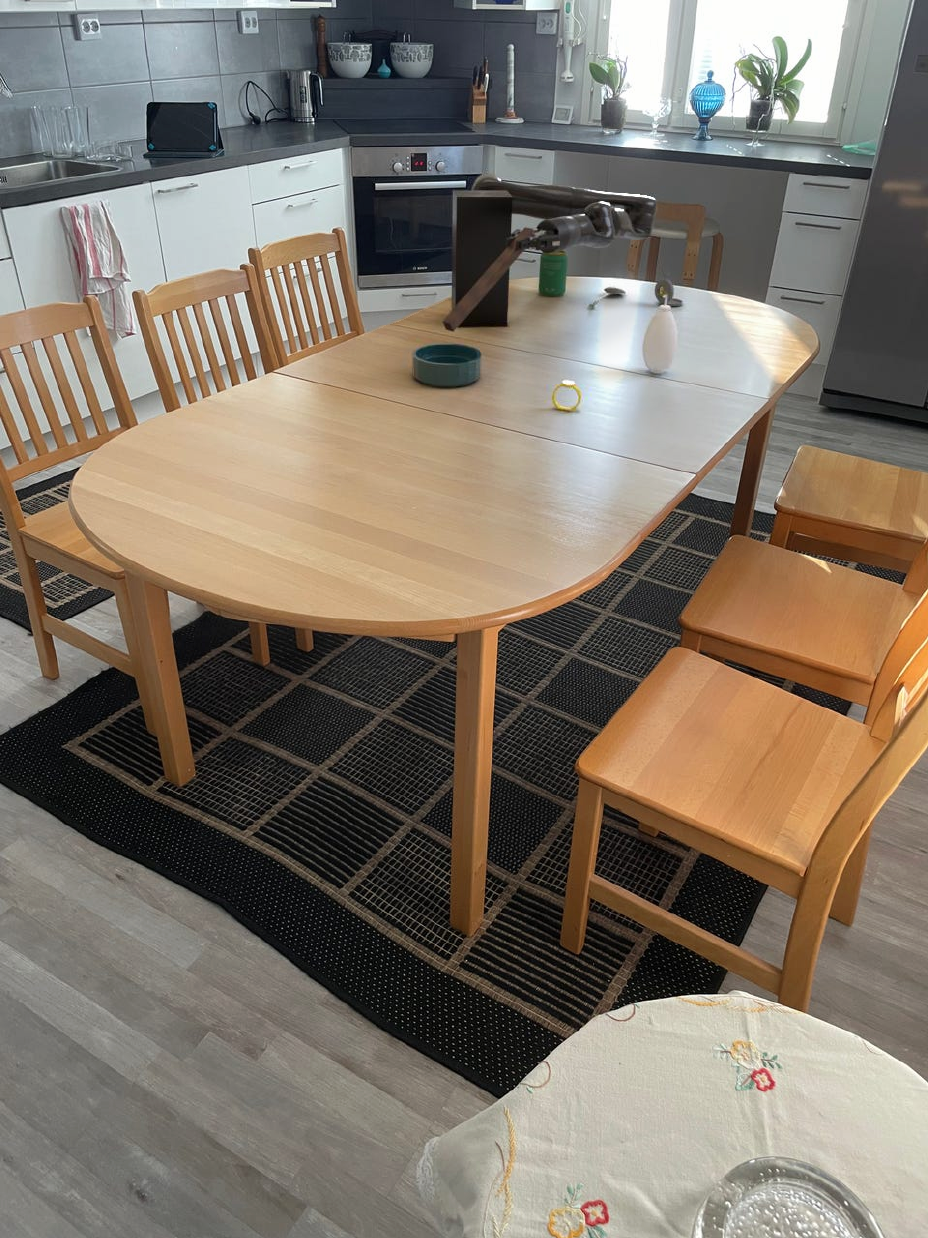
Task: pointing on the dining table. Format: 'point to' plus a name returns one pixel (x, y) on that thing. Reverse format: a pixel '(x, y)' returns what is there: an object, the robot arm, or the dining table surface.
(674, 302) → the pocket watch
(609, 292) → the soupspoon
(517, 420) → the dining table surface
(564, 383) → the gold diamond ring
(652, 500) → the dining table surface
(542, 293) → the beverage can
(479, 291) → the stick
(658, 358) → the sauce bottle
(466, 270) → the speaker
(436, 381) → the bowl
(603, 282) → the dining table surface
